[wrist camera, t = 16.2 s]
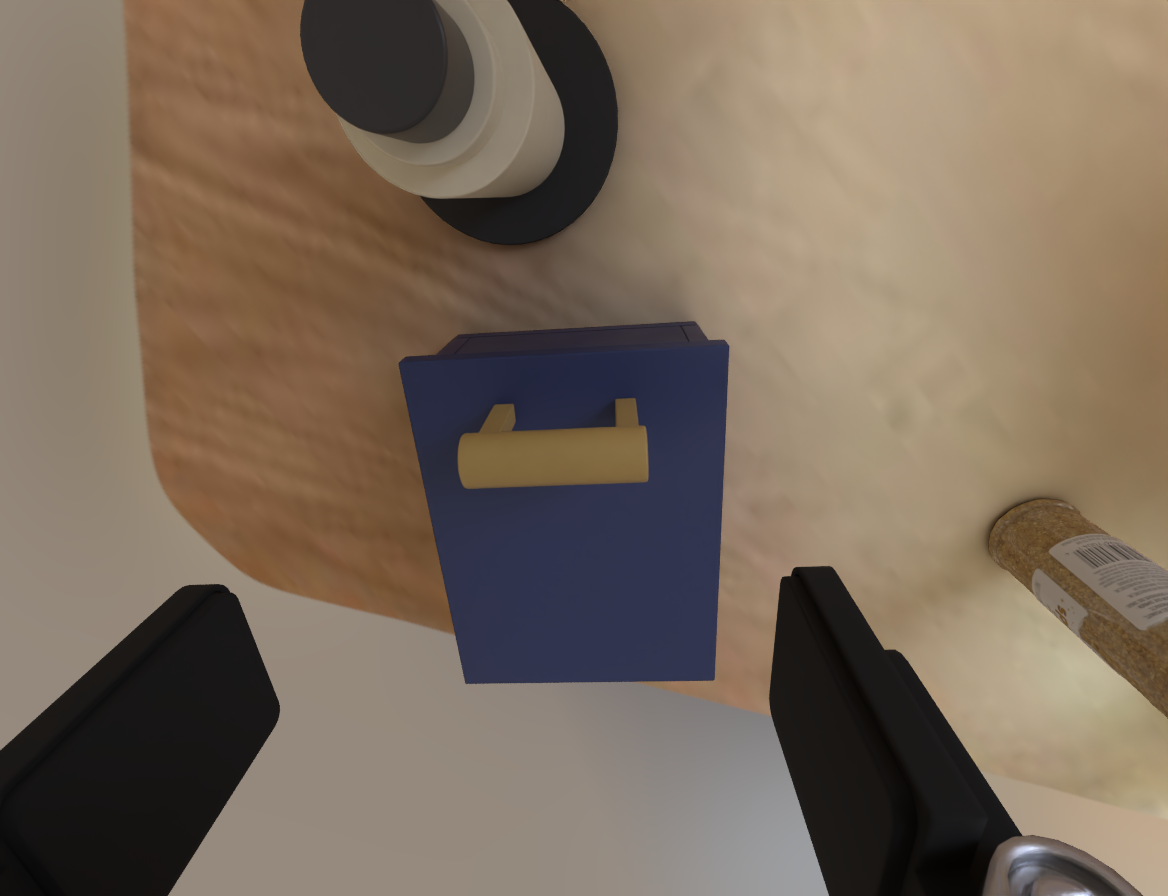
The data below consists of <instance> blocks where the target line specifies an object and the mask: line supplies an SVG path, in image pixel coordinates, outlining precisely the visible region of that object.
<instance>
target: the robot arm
mask: <svg viewBox="0 0 1168 896" xmlns="http://www.w3.org/2000/svg"><path fill="white" fill-rule="evenodd" d="M769 701H770V710H771V715H772V719H773V722H774V726H775V728H776V732H777V735H778V738H779V741H780V744H781V747H782V750H783V754H784V757H785V760H786V763H787V766H788V769H789V772H790V775H791V778H792V781H793V785H794V788H795V790H796V794H797V797H798V800H799V803H800V806H801V810H802V813H803V816H804V819H805V822H806V825H807V828H808V831H809V834H810V837H811V841H812V844H813V847H814V850H815V853H816V856H817V859H818V862H819V866H820V869H821V872H822V875H823V878H824V881H825V884H826V887H827V890H828V893H829V896H1143V895H1142V894H1141V893H1140V892H1139V891H1138V890H1137V889H1135V888H1134V887H1133V886H1132V885H1131V884H1130V883H1129V882H1127V881H1126V880H1125V879H1124V878H1123V877H1122V876H1120V875H1119V874H1118V873H1117V872H1116V871H1115V870H1113V869H1112V868H1110V867H1109V866H1107V865H1105V864H1104V863H1102V862H1101V861H1099V860H1098V859H1096V858H1094V857H1093V856H1091V855H1090V854H1088V853H1086V852H1085V851H1082V850H1080V849H1078V848H1075V847H1073V846H1071V845H1068V844H1066V843H1064V842H1061V841H1059V840H1055V839H1050V838H1045V837H1040V836H1035V835H1030V836H1022V834H1021V833H1020V831H1019V830H1018V828H1017V827H1016V826H1015V824H1014V822H1013V821H1012V819H1011V818H1010V816H1009V814H1008V813H1007V811H1006V810H1005V808H1004V807H1003V806H1002V804H1001V802H1000V801H999V799H998V798H997V796H996V795H995V793H994V792H993V790H992V789H991V787H990V786H989V784H988V783H987V781H986V779H985V778H984V777H983V775H982V773H981V772H980V770H979V769H978V767H977V766H976V764H975V763H974V761H973V760H972V758H971V757H970V755H969V754H968V752H967V751H966V749H965V748H964V746H963V744H962V743H961V741H960V740H959V738H958V737H957V735H956V734H955V732H954V731H953V729H952V728H951V726H950V725H949V723H948V722H947V720H946V719H945V717H944V716H943V714H942V713H941V711H940V709H939V708H938V706H937V705H936V703H935V702H934V700H933V699H932V697H931V696H930V694H929V693H928V691H927V690H926V688H925V687H924V685H923V684H922V682H921V681H920V679H919V678H918V676H917V674H916V673H915V671H914V670H913V668H912V667H911V665H910V664H909V662H908V661H907V660H906V659H905V657H904V656H903V655H902V654H901V653H899V652H898V651H896V650H884V648H883V647H882V645H881V644H880V642H879V640H878V639H877V637H876V636H875V634H874V632H873V631H872V629H871V628H870V626H869V624H868V623H867V621H866V619H865V618H864V616H863V615H862V613H861V611H860V610H859V608H858V607H857V605H856V603H855V602H854V600H853V599H852V597H851V595H850V594H849V592H848V591H847V589H846V587H845V586H844V584H843V582H842V581H841V579H840V578H839V576H838V574H837V573H836V571H835V570H834V569H833V568H832V567H830V566H819V567H795V568H794V569H793V571H792V574H791V576H785V577H782V579H781V583H780V592H779V602H778V612H777V622H776V632H775V643H774V653H773V663H772V673H771V683H770V694H769ZM279 713H280V705H279V701H278V699H277V696H276V693H275V691H274V688H273V686H272V683H271V681H270V678H269V676H268V673H267V671H266V668H265V666H264V663H263V661H262V658H261V655H260V653H259V651H258V648H257V645H256V643H255V640H254V638H253V635H252V633H251V630H250V628H249V625H248V623H247V620H246V618H245V615H244V613H243V610H242V607H241V605H240V602H239V600H238V598H237V596H236V595H235V594H233V593H230V591H229V590H228V588H227V587H225V586H224V585H220V584H209V585H188V586H184V587H182V588H181V589H179V590H178V591H177V592H175V593H174V594H173V595H172V596H171V597H170V598H169V599H168V600H167V601H166V602H164V603H163V604H162V605H161V606H160V607H159V608H158V609H157V610H155V611H154V612H153V613H152V614H151V615H150V616H149V617H148V618H147V619H145V620H144V621H143V622H142V623H141V624H140V625H139V626H138V627H137V628H135V630H133V631H132V632H131V633H130V634H129V635H128V636H127V637H126V638H124V639H123V640H122V641H121V642H120V643H119V644H118V645H117V646H116V647H115V648H113V649H112V650H111V651H110V652H109V653H108V654H107V655H106V656H105V657H103V658H102V659H101V660H100V661H99V662H98V663H97V664H96V665H95V666H93V667H92V668H91V669H90V670H89V671H88V672H87V673H86V674H85V675H83V676H82V677H81V678H80V679H79V680H78V681H77V682H76V683H75V684H74V685H72V686H71V687H70V688H69V689H68V690H67V691H66V692H65V693H64V694H63V695H61V696H60V697H59V698H58V699H57V700H56V701H55V702H54V703H52V704H51V705H50V706H49V707H48V708H47V709H46V710H45V711H44V712H42V713H41V714H40V715H39V716H38V717H37V718H36V719H35V720H34V721H32V722H31V723H30V724H29V725H28V726H27V727H26V728H25V729H24V730H23V731H21V732H20V733H19V734H18V735H17V736H16V737H15V738H14V739H13V740H12V741H10V742H9V743H8V744H7V745H6V746H5V747H4V748H3V749H2V750H0V896H168V894H169V893H170V891H171V890H172V888H173V886H174V885H175V883H176V882H177V880H178V879H179V877H180V875H181V874H182V872H183V871H184V869H185V868H186V866H187V865H188V863H189V861H190V860H191V858H192V857H193V855H194V853H195V852H196V850H197V849H198V847H199V846H200V844H201V842H202V841H203V839H204V838H205V836H206V835H207V833H208V831H209V830H210V828H211V827H212V825H213V824H214V822H215V820H216V818H217V817H218V816H219V814H220V812H221V811H222V809H223V808H224V806H225V805H226V803H227V801H228V800H229V798H230V796H231V795H232V794H233V792H234V790H235V789H236V787H237V786H238V784H239V782H240V781H241V779H242V778H243V776H244V775H245V773H246V771H247V770H248V768H249V767H250V765H251V763H252V762H253V760H254V759H255V757H256V756H257V754H258V752H259V751H260V749H261V747H262V746H263V745H264V743H265V741H266V740H267V738H268V737H269V735H270V734H271V732H272V730H273V729H274V727H275V725H276V723H277V721H278V718H279Z"/></svg>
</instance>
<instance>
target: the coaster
mask: <svg viewBox="0 0 1168 896" xmlns="http://www.w3.org/2000/svg"><path fill="white" fill-rule="evenodd" d="M507 1H508V2H509V4H510V5H511V7H512V8H513V10H514V12H515V14H516V16H517V17H518V19H519V21H520V23H521V25H522V27H523V29H524V31H525V32H526V34H527V36H528V38H529V40H530V42H531V44H532V46H533V48H534V50H535V52H536V54H537V55H538V57H539V59H540V61H541V63H542V65H543V67H544V69H545V71H546V73H547V75H548V77H549V78H550V80H551V82H552V84H553V86H554V88H555V90H556V92H557V94H558V97H559V99H560V102H561V106H562V109H563V115H564V126H565V131H564V141H563V147H562V150H561V154H560V157H559V159H558V161H557V163H556V165H555V167H554V169H553V170H552V172H551V173H550V175H549V176H548V177H547V178H546V179H545V180H544V181H543V182H542V183H541V184H540V185H539V186H537V187H536V188H534V189H533V190H531V191H529V192H527V193H525V194H522V195H519V196H513V197H492V198H448V199H438V198H428V197H424V196H421V198H422V199H423V200H424V201H425V203H426V204H427V205H428V206H429V207H430V208H431V209H432V210H433V211H434V212H435V213H436V214H437V215H438V216H439V217H440V218H441V219H442V220H444V221H445V222H447V223H448V224H449V225H451V226H452V227H454V228H455V229H457V230H459V231H461V232H462V233H464V234H466V235H468V236H471V237H473V238H476V239H478V240H481V241H485V242H490V243H494V244H504V245H518V244H526V243H531V242H536V241H539V240H542V239H545V238H548V237H550V236H552V235H554V234H556V233H558V232H560V231H561V230H563V229H564V228H566V227H567V226H569V225H570V224H572V223H573V222H574V221H575V220H576V219H577V218H578V217H579V216H581V215H582V214H583V213H584V211H585V210H586V209H587V208H588V207H589V206H590V204H591V203H592V202H593V200H594V199H595V197H596V196H597V194H598V193H599V191H600V190H601V188H602V186H603V183H604V181H605V179H606V177H607V175H608V172H609V169H610V166H611V163H612V161H613V156H614V151H615V147H616V140H617V130H618V108H617V101H616V93H615V88H614V84H613V80H612V76H611V73H610V70H609V67H608V65H607V62H606V59H605V57H604V55H603V53H602V51H601V49H600V47H599V45H598V43H597V41H596V40H595V38H594V37H593V35H592V34H591V33H590V31H589V30H588V28H587V27H586V25H585V24H584V23H583V22H582V21H581V20H580V19H579V18H578V17H577V15H576V14H575V13H574V12H573V11H571V10H570V9H569V8H568V7H567V6H565V5H564V4H563V3H562V2H561V1H559V0H507Z"/></svg>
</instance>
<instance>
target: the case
mask: <svg viewBox="0 0 1168 896" xmlns="http://www.w3.org/2000/svg"><path fill="white" fill-rule="evenodd" d="M689 341H708V339H707V338H706V336H705V335H704V333H703V332H702V330H701V329H700V327H699V326H698V325H697V323H696V322H676V323H658V324H640V325H622V326H604V327H587V328H569V329H551V330H533V331H515V332H497V333H479V334H461V335H458V336H457V337H455V338H454V339H453V340H452V341H451V342H450V343H448V344H447V345H446V346H445V347H444V348H443V349H442V350H441V351H440V352H439V353H438V354H436V355H447V354H465V353H484V352H503V351H521V350H540V349H559V348H577V347H596V346H614V345H633V344H652V343H670V342H689Z"/></svg>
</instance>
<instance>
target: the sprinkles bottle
mask: <svg viewBox="0 0 1168 896" xmlns="http://www.w3.org/2000/svg"><path fill="white" fill-rule="evenodd" d="M989 549H990V550H989V551H990V554H991V556H992V558H993V559H994V561H995V562H996V563H997V564H998V565H999V566H1000V567H1001V568H1003V569H1005V570H1008V571H1009V572H1010V573H1011V574H1012V575H1013V576H1014V577H1016V578H1017V579H1018V580H1019V581H1020V582H1021V583H1022V584H1024V586H1025V587H1026V588H1027V589H1029V590H1030V592H1032V593H1033V594H1034V595H1035V596H1036V598H1037V599H1038V600H1039V601H1040V602H1041V603H1042V604H1043V605H1044V606H1045V607H1046V608H1047V609H1048V610H1049V611H1050V612H1052V613H1053V614H1054V615H1055V616H1056V617H1057V618H1058V619H1059V620H1060V621H1061V622H1063V623H1064V624H1065V625H1066V626H1067V627H1068V628H1069V629H1070V630H1071V631H1072V632H1073V633H1075V634H1076V635H1077V636H1078V637H1079V638H1080V639H1081V640H1082V641H1083V642H1084V643H1085V644H1086V645H1087V646H1088V647H1090V648H1091V649H1092V650H1093V651H1094V652H1095V653H1096V654H1097V655H1098V656H1099V657H1100V658H1101V659H1102V660H1103V661H1105V662H1106V663H1107V664H1108V665H1109V666H1110V667H1111V668H1112V669H1113V670H1114V671H1116V672H1117V673H1118V674H1119V675H1121V676H1122V677H1123V678H1125V679H1126V680H1127V681H1128V682H1129V683H1130V684H1131V685H1132V686H1134V687H1135V688H1136V689H1137V690H1138V691H1139V692H1140V693H1141V694H1142V695H1143V696H1144V697H1146V698H1147V699H1148V700H1149V702H1150V703H1151V704H1152V705H1153V706H1155V707H1156V708H1157V709H1158V710H1159V711H1161V712H1162V713H1163V714H1164V715H1165V716H1166V717H1167V718H1168V571H1167V570H1165V569H1164V568H1162V567H1161V566H1159V565H1158V564H1156V563H1155V562H1153V561H1152V560H1150V559H1149V558H1147V557H1146V556H1144V555H1143V554H1141V553H1140V552H1138V551H1137V550H1135V549H1134V548H1132V547H1131V546H1129V545H1127V544H1126V543H1124V542H1123V541H1121V540H1119V539H1117V538H1115V537H1112V536H1111V535H1109V534H1108V533H1106V532H1105V531H1104V530H1102V529H1101V528H1099V527H1098V526H1096V525H1095V524H1093V523H1091V522H1089V521H1088V520H1087V519H1085V518H1084V517H1082V515H1081V514H1080V512H1079V511H1078V510H1077V509H1076V508H1075V507H1073V506H1071V505H1070V504H1068V503H1066V502H1063V501H1061V500H1054V499H1045V500H1044V499H1040V500H1034V501H1030V502H1027V503H1024V504H1021V505H1019V506H1017V507H1015V508H1013V509H1011V510H1010V511H1009V512H1008V513H1006V514H1005V515H1004V516H1003V517H1001V518H1000V519H999V520H998V521H997V522H996V524H995V526H994V528H993V529H992V531H991V534H990V541H989Z"/></svg>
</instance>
